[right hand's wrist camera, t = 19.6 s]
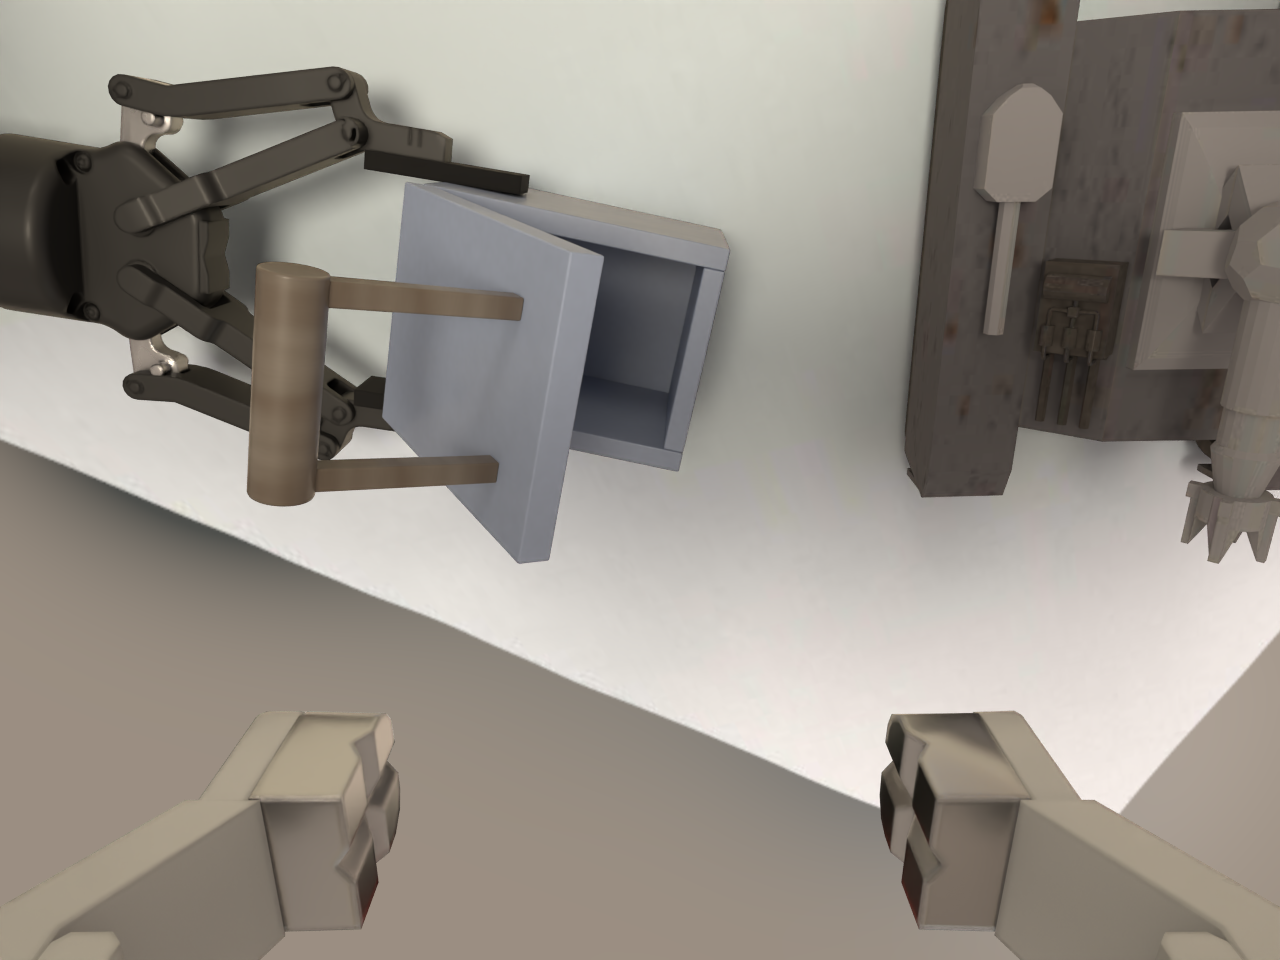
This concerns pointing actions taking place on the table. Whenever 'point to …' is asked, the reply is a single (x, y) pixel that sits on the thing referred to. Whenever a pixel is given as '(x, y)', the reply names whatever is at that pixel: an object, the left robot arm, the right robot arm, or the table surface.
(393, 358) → the lid
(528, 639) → the table surface
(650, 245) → the chest
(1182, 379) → the toy
